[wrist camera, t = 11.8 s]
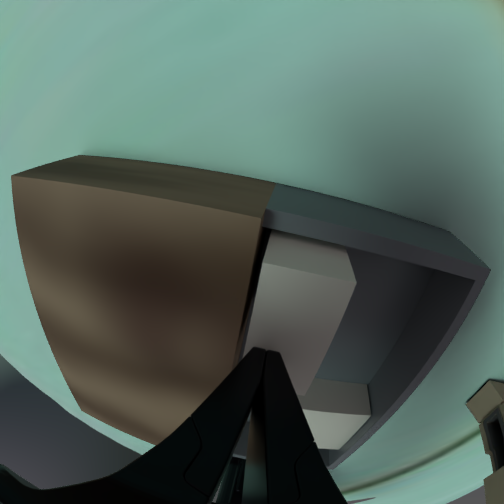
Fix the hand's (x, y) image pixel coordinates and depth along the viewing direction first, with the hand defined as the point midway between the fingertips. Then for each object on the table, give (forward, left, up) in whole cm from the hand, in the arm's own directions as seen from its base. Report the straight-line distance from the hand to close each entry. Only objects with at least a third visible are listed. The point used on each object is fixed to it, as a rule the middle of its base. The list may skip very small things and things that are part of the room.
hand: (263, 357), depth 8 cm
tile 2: (-9, -5, -3) cm, 11 cm away
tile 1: (+1, +1, -3) cm, 3 cm away
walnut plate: (-5, +6, -6) cm, 10 cm away
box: (-5, -4, -6) cm, 9 cm away
